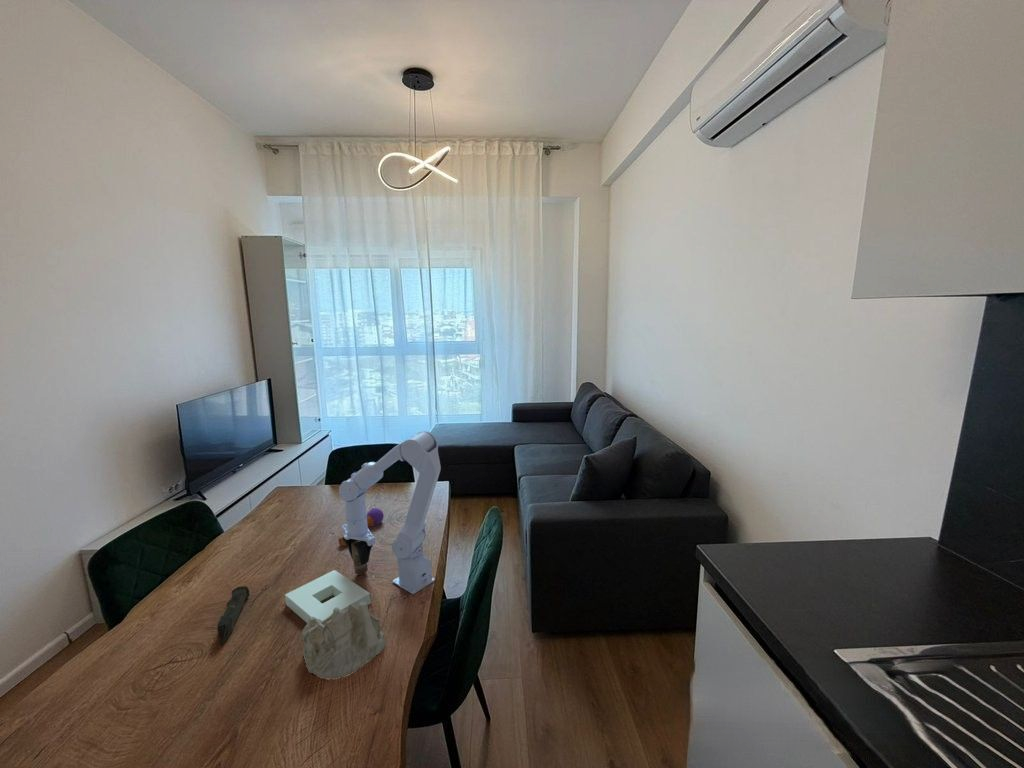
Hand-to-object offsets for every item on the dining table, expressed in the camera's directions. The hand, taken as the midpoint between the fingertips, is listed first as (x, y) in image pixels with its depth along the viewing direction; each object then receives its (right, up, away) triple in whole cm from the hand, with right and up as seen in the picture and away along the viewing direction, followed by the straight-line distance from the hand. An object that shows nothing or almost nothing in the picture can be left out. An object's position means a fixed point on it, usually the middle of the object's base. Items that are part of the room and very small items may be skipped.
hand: (360, 560), depth 126 cm
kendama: (-8, -1, +26) cm, 28 cm away
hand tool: (-26, -8, -17) cm, 32 cm away
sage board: (-4, -7, -12) cm, 15 cm away
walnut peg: (0, -3, +1) cm, 3 cm away
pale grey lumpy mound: (+7, -9, -29) cm, 31 cm away
